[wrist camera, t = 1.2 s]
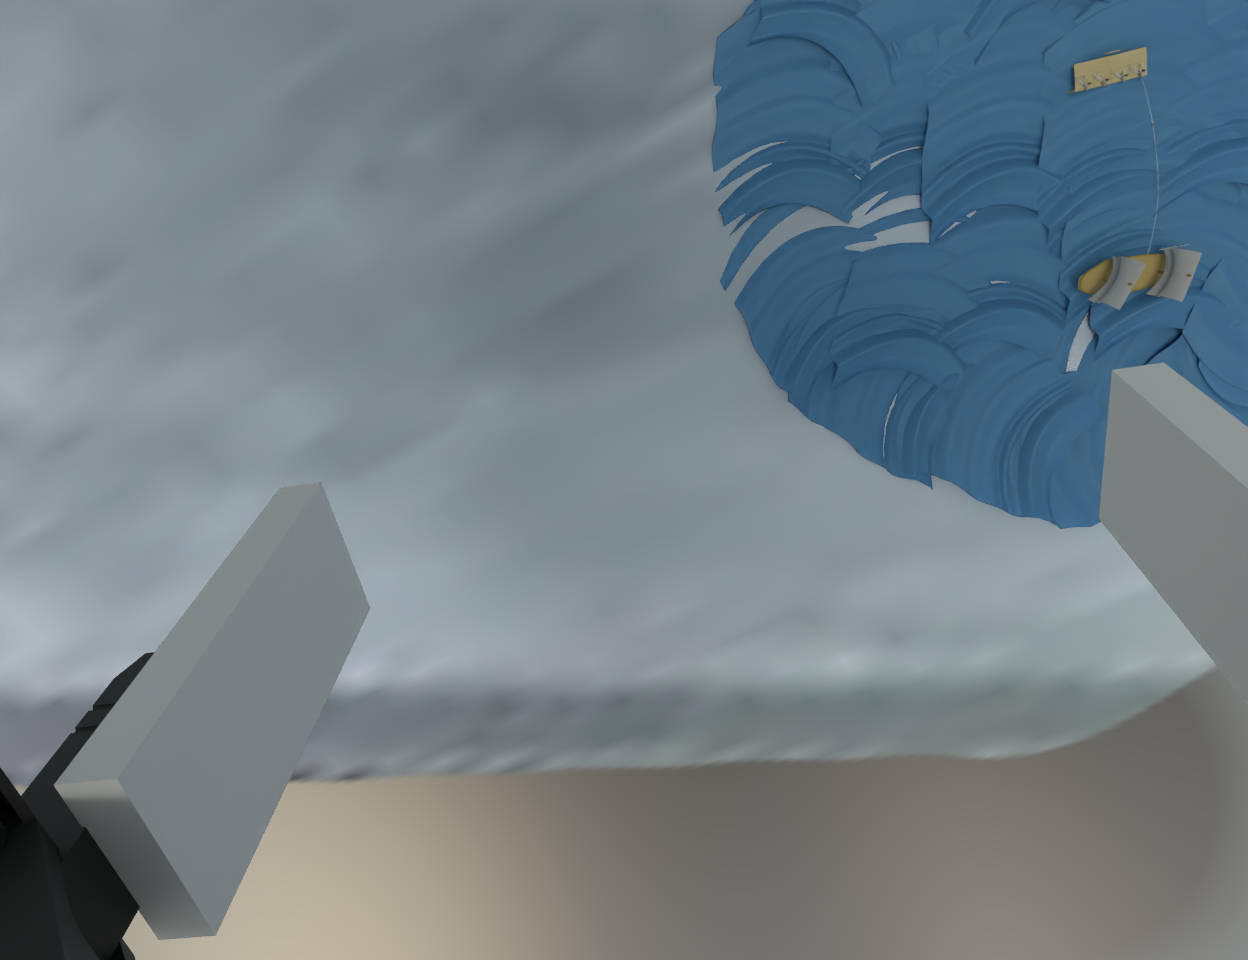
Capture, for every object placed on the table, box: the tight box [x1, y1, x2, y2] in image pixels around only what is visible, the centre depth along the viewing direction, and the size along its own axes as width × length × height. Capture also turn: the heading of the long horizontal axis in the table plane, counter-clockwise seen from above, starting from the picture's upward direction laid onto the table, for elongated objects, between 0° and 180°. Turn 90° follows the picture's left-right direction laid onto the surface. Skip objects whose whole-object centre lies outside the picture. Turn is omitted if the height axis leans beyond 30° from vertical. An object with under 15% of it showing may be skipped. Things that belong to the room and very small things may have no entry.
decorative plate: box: [712, 0, 1248, 529], centre depth 34 cm, size 30×30×5 cm
